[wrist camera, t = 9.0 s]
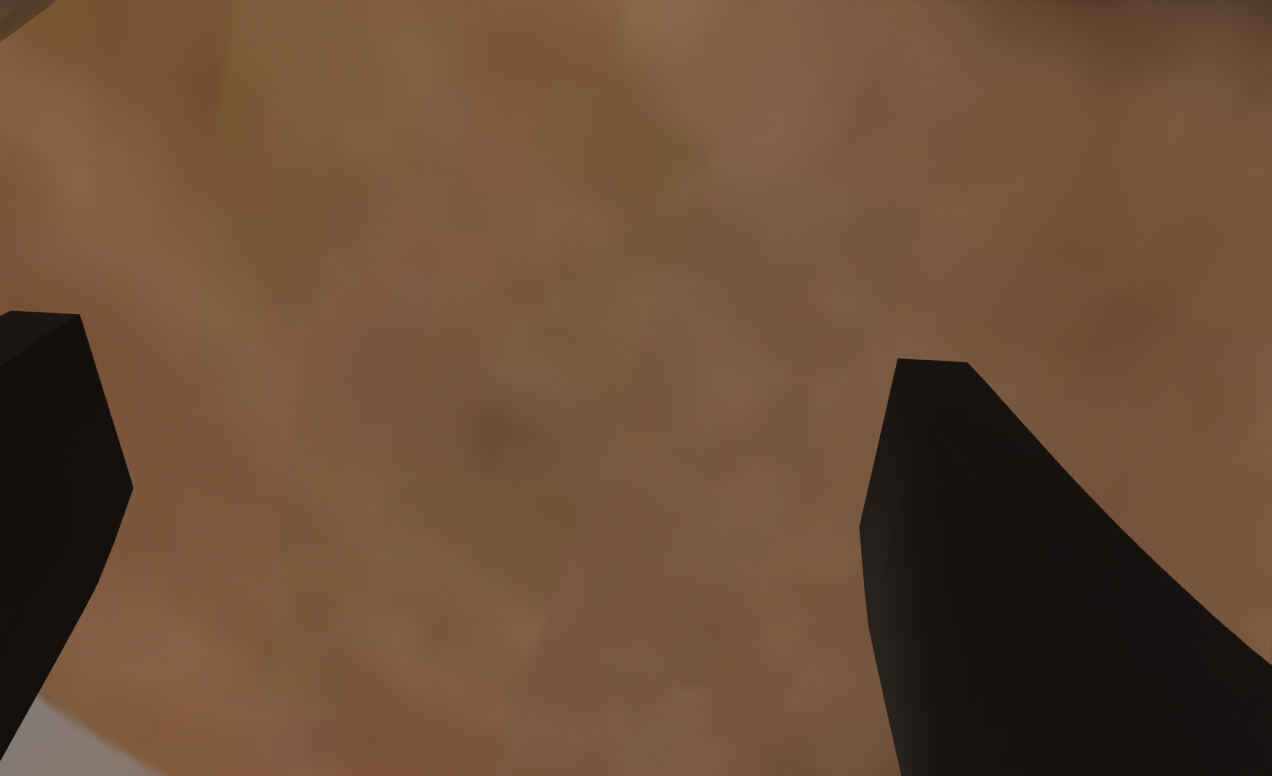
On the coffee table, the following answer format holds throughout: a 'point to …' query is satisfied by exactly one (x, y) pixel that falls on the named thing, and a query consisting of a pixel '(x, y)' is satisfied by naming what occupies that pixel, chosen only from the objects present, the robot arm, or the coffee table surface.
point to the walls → (19, 14)
